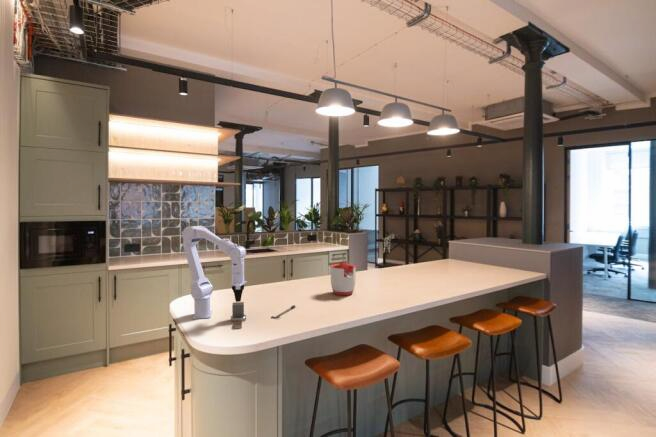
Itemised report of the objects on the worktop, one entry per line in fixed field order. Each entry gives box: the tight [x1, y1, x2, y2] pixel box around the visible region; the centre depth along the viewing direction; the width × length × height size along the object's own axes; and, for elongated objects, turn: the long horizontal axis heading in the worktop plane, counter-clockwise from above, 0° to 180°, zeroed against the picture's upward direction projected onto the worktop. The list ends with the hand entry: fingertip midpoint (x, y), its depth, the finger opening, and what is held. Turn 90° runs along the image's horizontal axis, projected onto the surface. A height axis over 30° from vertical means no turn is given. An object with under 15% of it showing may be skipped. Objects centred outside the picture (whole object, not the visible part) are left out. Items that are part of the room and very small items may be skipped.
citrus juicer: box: [330, 260, 357, 296], centre depth 219 cm, size 16×17×20 cm
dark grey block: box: [231, 301, 245, 318], centre depth 170 cm, size 5×5×6 cm
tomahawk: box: [270, 305, 296, 320], centre depth 181 cm, size 21×7×1 cm, turn 155°
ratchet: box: [230, 314, 247, 330], centre depth 166 cm, size 16×7×5 cm, turn 14°
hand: (238, 301), depth 170 cm, fingers closed
